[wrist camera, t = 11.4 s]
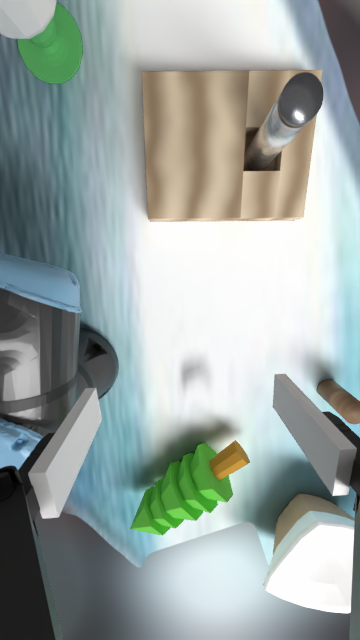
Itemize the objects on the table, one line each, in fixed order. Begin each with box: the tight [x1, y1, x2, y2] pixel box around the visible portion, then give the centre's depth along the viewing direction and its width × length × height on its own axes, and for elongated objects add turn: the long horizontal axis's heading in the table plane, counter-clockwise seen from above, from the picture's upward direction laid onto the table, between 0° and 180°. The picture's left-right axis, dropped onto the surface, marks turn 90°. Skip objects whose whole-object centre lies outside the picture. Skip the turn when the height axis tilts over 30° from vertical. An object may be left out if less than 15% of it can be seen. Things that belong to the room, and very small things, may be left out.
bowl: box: [264, 494, 355, 613], centre depth 50 cm, size 24×25×11 cm
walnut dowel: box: [317, 379, 360, 424], centre depth 42 cm, size 4×4×8 cm
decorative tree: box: [130, 440, 250, 535], centre depth 46 cm, size 11×12×30 cm
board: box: [142, 70, 322, 222], centre depth 33 cm, size 24×18×3 cm
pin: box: [244, 72, 323, 171], centre depth 28 cm, size 4×4×13 cm
